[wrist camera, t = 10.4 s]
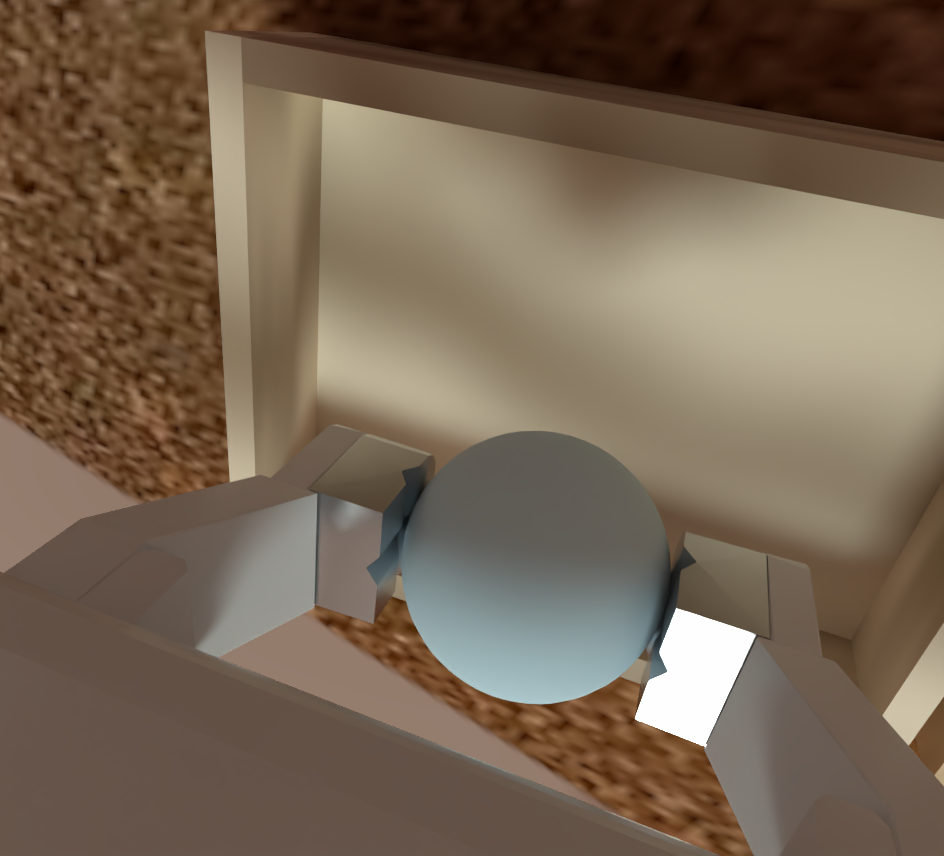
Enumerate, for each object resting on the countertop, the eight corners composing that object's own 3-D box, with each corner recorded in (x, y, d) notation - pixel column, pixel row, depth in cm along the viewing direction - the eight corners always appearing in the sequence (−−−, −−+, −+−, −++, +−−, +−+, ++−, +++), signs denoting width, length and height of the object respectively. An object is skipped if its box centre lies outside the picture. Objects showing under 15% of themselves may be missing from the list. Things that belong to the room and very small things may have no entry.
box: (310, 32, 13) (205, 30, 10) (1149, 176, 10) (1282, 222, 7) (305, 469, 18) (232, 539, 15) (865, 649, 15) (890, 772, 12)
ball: (469, 361, 10) (362, 483, 7) (713, 426, 9) (697, 591, 7) (443, 546, 12) (348, 704, 9) (646, 613, 11) (612, 808, 8)
